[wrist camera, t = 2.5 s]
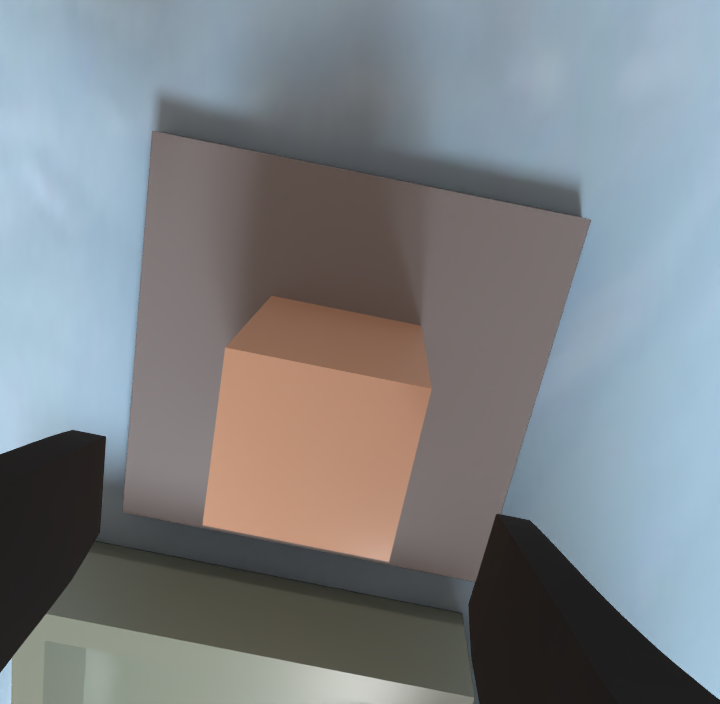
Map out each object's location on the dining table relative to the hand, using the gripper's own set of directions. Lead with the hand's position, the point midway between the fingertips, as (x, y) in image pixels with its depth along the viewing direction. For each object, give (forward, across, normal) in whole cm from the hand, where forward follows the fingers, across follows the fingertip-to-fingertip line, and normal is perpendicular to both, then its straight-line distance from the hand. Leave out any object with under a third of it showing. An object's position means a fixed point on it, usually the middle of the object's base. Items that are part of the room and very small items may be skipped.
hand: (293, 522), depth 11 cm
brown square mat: (+8, 0, 0) cm, 8 cm away
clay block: (+7, 0, 0) cm, 7 cm away
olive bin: (+8, +1, +15) cm, 17 cm away
